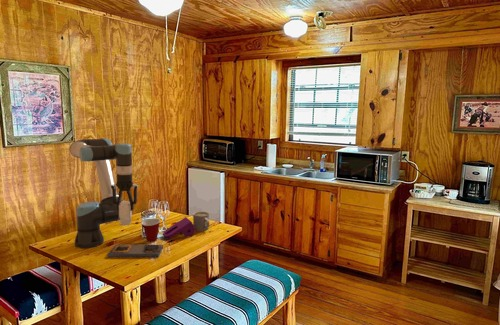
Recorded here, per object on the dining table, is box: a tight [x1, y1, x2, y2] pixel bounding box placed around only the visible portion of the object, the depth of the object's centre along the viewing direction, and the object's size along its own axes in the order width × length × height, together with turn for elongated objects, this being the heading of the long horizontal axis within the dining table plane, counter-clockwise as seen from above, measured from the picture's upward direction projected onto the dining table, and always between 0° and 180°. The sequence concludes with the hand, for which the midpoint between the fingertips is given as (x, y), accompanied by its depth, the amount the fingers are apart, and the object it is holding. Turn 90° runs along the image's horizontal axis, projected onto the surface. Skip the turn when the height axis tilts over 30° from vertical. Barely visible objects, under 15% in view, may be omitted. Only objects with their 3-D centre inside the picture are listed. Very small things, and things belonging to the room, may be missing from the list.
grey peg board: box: [107, 244, 164, 258], centre depth 185 cm, size 26×12×2 cm, turn 93°
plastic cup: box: [141, 217, 161, 243], centre depth 201 cm, size 11×11×12 cm
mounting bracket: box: [162, 216, 196, 240], centre depth 211 cm, size 9×8×18 cm
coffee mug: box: [192, 211, 210, 232], centre depth 221 cm, size 13×10×10 cm
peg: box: [119, 200, 132, 226], centre depth 182 cm, size 4×4×12 cm
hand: (125, 216), depth 182 cm, fingers closed on peg, 4 cm apart
